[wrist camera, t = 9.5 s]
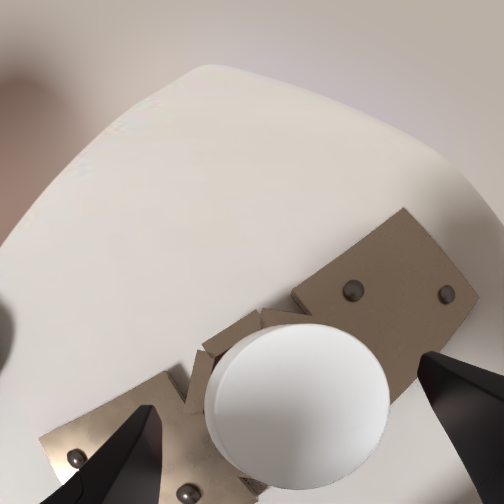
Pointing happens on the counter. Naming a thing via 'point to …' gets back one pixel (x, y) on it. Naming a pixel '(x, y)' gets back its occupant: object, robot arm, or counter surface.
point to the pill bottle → (297, 405)
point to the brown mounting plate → (313, 305)
